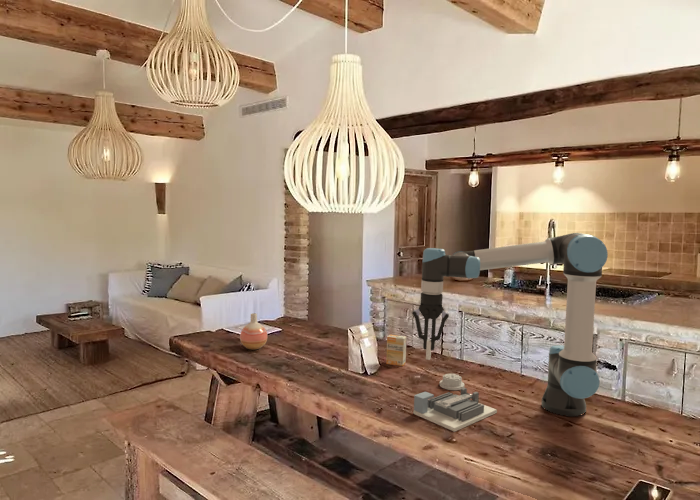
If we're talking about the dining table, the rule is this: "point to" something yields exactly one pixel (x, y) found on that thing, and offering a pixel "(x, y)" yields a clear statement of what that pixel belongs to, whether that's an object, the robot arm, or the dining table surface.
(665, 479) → the dining table surface
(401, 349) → the supplement box
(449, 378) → the beige hat
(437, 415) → the mechanical assembly board
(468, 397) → the strap
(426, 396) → the blue-grey block
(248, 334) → the vase
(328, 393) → the dining table surface
